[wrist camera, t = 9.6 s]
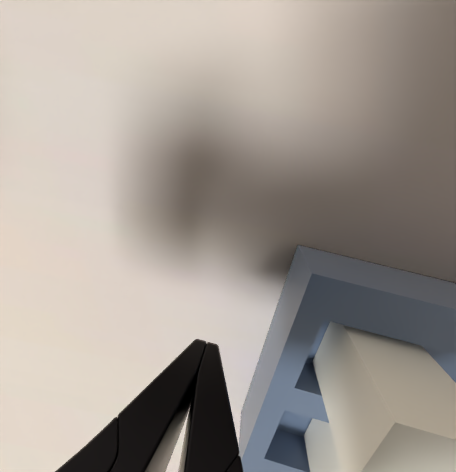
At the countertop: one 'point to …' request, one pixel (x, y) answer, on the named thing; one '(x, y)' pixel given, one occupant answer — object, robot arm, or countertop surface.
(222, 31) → the countertop surface
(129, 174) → the countertop surface
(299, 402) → the switch panel
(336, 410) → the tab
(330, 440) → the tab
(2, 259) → the countertop surface
